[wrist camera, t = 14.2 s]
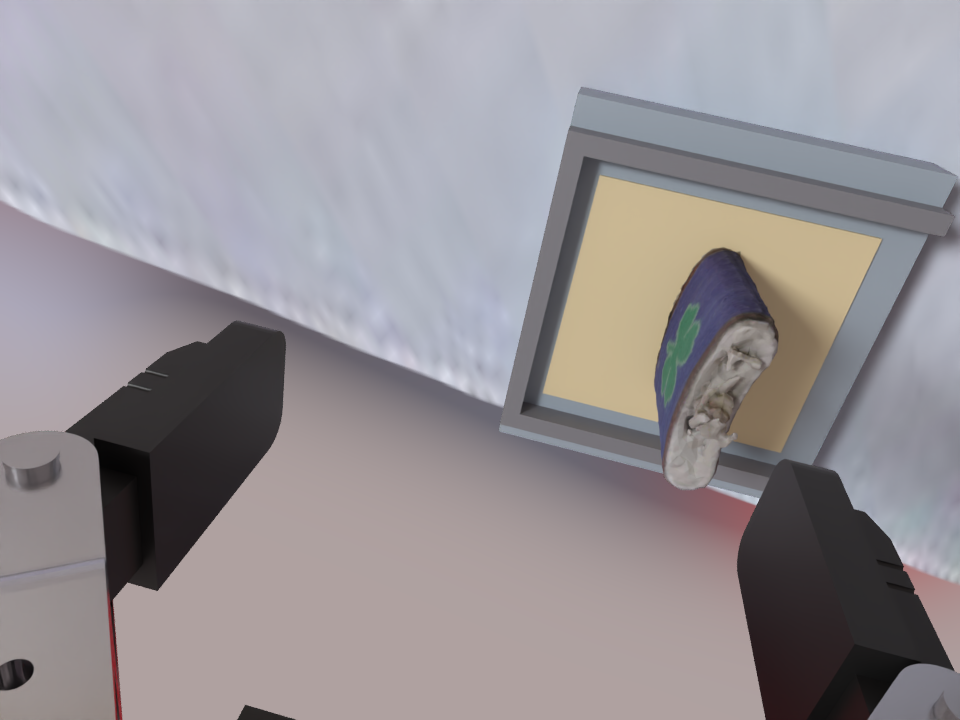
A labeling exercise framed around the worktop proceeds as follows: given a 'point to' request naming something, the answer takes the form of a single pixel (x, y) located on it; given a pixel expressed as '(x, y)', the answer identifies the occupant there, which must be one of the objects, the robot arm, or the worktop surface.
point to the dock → (681, 244)
